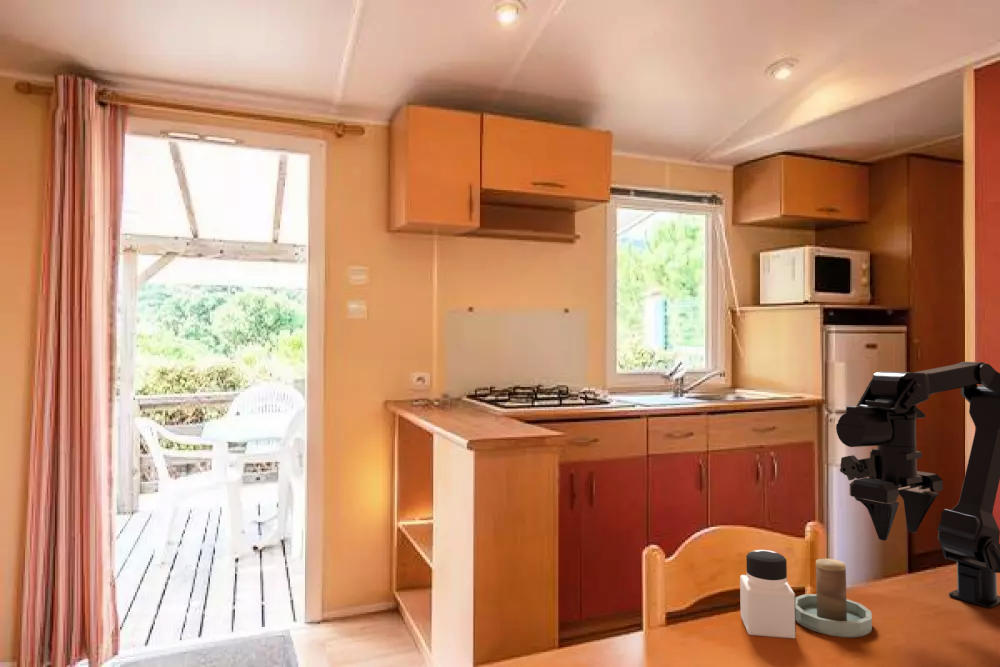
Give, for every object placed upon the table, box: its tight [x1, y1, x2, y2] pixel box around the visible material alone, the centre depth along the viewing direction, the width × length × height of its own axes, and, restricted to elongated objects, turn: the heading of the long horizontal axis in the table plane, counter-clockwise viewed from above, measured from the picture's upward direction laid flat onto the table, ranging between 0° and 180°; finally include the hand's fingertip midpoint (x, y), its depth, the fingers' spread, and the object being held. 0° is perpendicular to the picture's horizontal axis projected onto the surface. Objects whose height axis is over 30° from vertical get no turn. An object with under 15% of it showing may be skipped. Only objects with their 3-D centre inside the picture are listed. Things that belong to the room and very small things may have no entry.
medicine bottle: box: [739, 549, 797, 639], centre depth 103 cm, size 7×7×12 cm
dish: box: [795, 593, 873, 638], centre depth 105 cm, size 12×12×2 cm
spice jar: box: [815, 558, 847, 621], centre depth 105 cm, size 4×4×9 cm
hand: (897, 535), depth 108 cm, fingers open, 9 cm apart
